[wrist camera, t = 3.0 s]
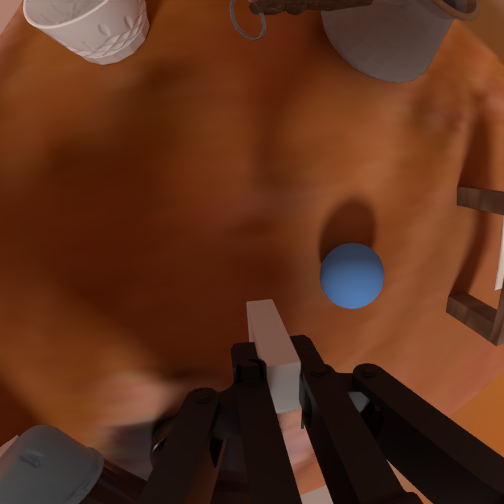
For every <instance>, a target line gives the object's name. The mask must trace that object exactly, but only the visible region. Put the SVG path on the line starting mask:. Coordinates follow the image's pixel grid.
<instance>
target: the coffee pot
mask: <svg viewBox="0 0 504 504" xmlns="http://www.w3.org/2000/svg"><path fill="white" fill-rule="evenodd" d="M235 1H236V0H231V3H230V6H229V12H230V17H231V20H232V22H233V24H234V27H235V29H236V30H237V31H238V32H239V33H240V34H241V35H242V36H243V37H245V38H247V39H250V40H252V41H254V40H257V39H260V38H262V37H263V36H264V34H265V32H266V29H267V25H266V19H265V16H264V15H275V14H278V13H280V12H281V11H287V12H288V13H290V14H292V15H299V14H301V13H302V12H304V10H305V9H309V10H321V19H322V23H323V27H324V31H325V33H326V35H327V37H328V39H329V41H330V43H331V45H332V46H333V47H334V48H335V50H336V51H337V52H338V53H339V54H340V56H341V57H342V58H343V59H344V60H346V61H347V62H348V63H349V64H350V65H352V66H353V67H354V68H355V69H357V70H359V71H361V72H362V73H364V74H366V75H368V76H371V77H374V78H377V79H380V80H383V81H386V82H397V83H403V82H407V81H411V80H414V79H416V78H417V77H419V76H420V75H422V74H423V73H424V72H425V70H426V69H427V67H428V66H429V64H430V62H431V61H432V59H433V57H434V55H435V54H436V52H437V50H438V48H439V46H440V44H441V43H442V41H443V39H444V37H445V35H446V33H447V32H448V30H449V28H450V26H451V24H452V22H453V20H454V19H460V20H463V21H473V20H475V19H477V17H478V15H479V13H480V2H479V0H257V1H254V0H247V1H249V2H250V6H249V8H250V11H251V13H252V14H259V16H260V19H261V24H262V30H261V32H260V35H259V36H258V37H256V38H254V37H252V36H249V35H247V34H246V33H245V32H244V31H243V30H242V29H241V28H240V27H239V25H238V23H237V21H236V19H235V15H234V9H233V8H234V4H235Z"/></svg>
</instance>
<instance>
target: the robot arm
mask: <svg viewBox="0 0 504 504" xmlns="http://www.w3.org/2000/svg"><path fill="white" fill-rule="evenodd" d="M246 304H247V318H248V331H249V342H246V343H236V344H234V345H233V347H232V348H231V356H232V365H233V374H234V383H233V385H232V386H231V387H230V388H228V389H227V390H225V391H222V392H219V393H217V391H215V390H213V389H211V388H198V389H194V390H193V391H191V392H189V394H188V395H187V396H186V398H185V400H184V402H183V405H182V407H181V409H180V411H179V413H178V415H177V416H175V417H172V418H171V419H169V420H167V421H166V422H164V423H163V424H162V425H161V426H159V428H158V429H157V430H156V431H155V433H154V435H153V438H152V443H151V450H150V460H151V464H152V468H153V470H152V472H151V474H150V476H149V479H148V481H146V480H144V479H142V478H140V477H138V476H136V475H134V474H132V473H130V472H128V471H126V470H125V469H123V468H121V467H119V466H117V465H116V464H114V463H112V462H110V461H109V460H107V459H105V458H104V457H103V456H102V455H101V453H99V452H98V451H97V450H96V449H94V448H90V447H86V446H84V445H83V444H81V443H79V442H78V441H76V440H75V439H73V438H71V437H70V436H68V435H67V434H65V433H64V432H62V431H61V430H59V429H57V428H55V427H53V426H49V425H37V426H33V427H31V428H30V429H28V430H27V431H25V432H24V433H23V434H22V435H21V436H20V437H18V438H17V439H16V440H15V441H14V442H13V443H12V445H11V446H10V447H9V448H8V449H7V450H6V451H5V452H4V453H3V454H2V456H1V457H0V504H302V502H301V498H300V494H299V491H298V488H297V484H296V481H295V477H294V474H293V470H292V467H291V464H290V460H289V457H288V453H287V450H286V446H285V443H284V439H283V435H282V432H281V428H280V425H279V421H278V418H277V414H278V413H284V412H291V411H297V410H299V403H300V404H301V407H302V420H301V429H304V425H305V427H306V430H307V433H308V436H309V438H310V441H311V444H312V447H313V449H314V452H315V455H316V458H317V460H318V463H319V466H320V469H321V471H322V474H323V477H324V479H325V482H326V485H327V487H328V490H329V493H330V496H331V498H332V501H333V504H423V503H422V501H421V499H420V498H419V497H418V495H417V494H415V493H414V492H406V491H405V490H404V489H403V488H402V486H401V484H400V482H399V481H398V479H397V477H396V475H395V474H394V472H393V470H392V468H391V467H390V465H389V463H388V462H387V460H388V461H389V462H390V463H391V464H392V465H393V466H394V467H395V468H396V469H397V470H398V471H399V472H400V473H401V474H402V475H403V476H405V478H406V479H407V480H408V481H409V482H411V483H412V484H413V485H414V486H415V487H416V488H417V489H418V490H419V491H420V492H421V493H422V494H423V495H424V496H425V497H426V498H428V499H429V500H430V501H431V502H432V503H433V504H504V457H502V456H501V455H499V454H498V453H496V452H495V451H494V450H492V449H491V448H490V447H488V446H487V445H485V444H484V443H482V442H481V441H480V440H479V439H477V438H476V437H474V436H473V435H472V434H470V433H469V432H467V431H466V430H465V429H463V428H462V427H461V426H459V425H458V424H456V423H455V422H454V421H452V420H451V419H450V418H448V417H447V416H445V415H444V414H443V413H441V412H440V411H439V410H437V409H436V408H435V407H433V406H432V405H430V404H429V403H428V402H426V401H425V400H424V399H422V398H421V397H420V396H418V395H417V394H416V393H414V392H413V391H412V390H410V389H409V388H407V387H406V386H405V385H403V384H402V383H401V382H399V381H398V380H397V379H395V378H394V377H393V376H391V375H390V374H389V373H387V372H386V371H385V370H383V369H382V368H381V367H379V366H377V365H375V364H370V363H364V364H360V365H358V366H356V367H355V368H354V370H353V373H337V372H335V370H334V369H333V368H332V367H331V366H329V365H327V364H324V362H323V360H322V359H321V357H320V355H319V353H318V352H317V350H316V348H315V346H314V345H313V343H312V341H311V339H310V338H308V337H306V336H305V335H298V336H290V337H289V335H288V333H287V331H286V328H285V326H284V324H283V322H282V320H281V318H280V315H279V313H278V311H277V309H276V307H275V304H274V302H273V300H272V299H268V300H258V301H248V302H246ZM386 459H387V460H386Z"/></svg>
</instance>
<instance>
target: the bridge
mask: <svg viewBox="0 0 504 504" xmlns="http://www.w3.org/2000/svg"><path fill="white" fill-rule="evenodd" d="M457 205H458V206H463V207H468V208H473V209H478V210H482V211H487V212H492V213H496V214H500V215H504V192H502V191H495V190H488V189H481V188H473V187H457ZM446 312H447V313H448V314H450V315H451V316H453V317H454V318H456V319H457V320H459V321H460V322H462V323H463V324H465V325H466V326H468V327H469V328H471V329H472V330H474V331H475V332H477V333H478V334H479V335H481V336H482V337H484V338H485V339H487V340H488V341H490V342H491V343H492V344H494V345H495V346H498V345H501V344H503V343H504V278H503V284H502V289H501V295H500V300H499V304H498V309H497V310H496V309H494V308H493V307H491V306H489V305H487V304H485V303H484V302H482V301H480V300H478V299H476V298H475V297H473V296H471V295H469V294H467V293H465V292H464V293H460V294H456V295H452V296H449V297H448V303H447V309H446Z"/></svg>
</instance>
